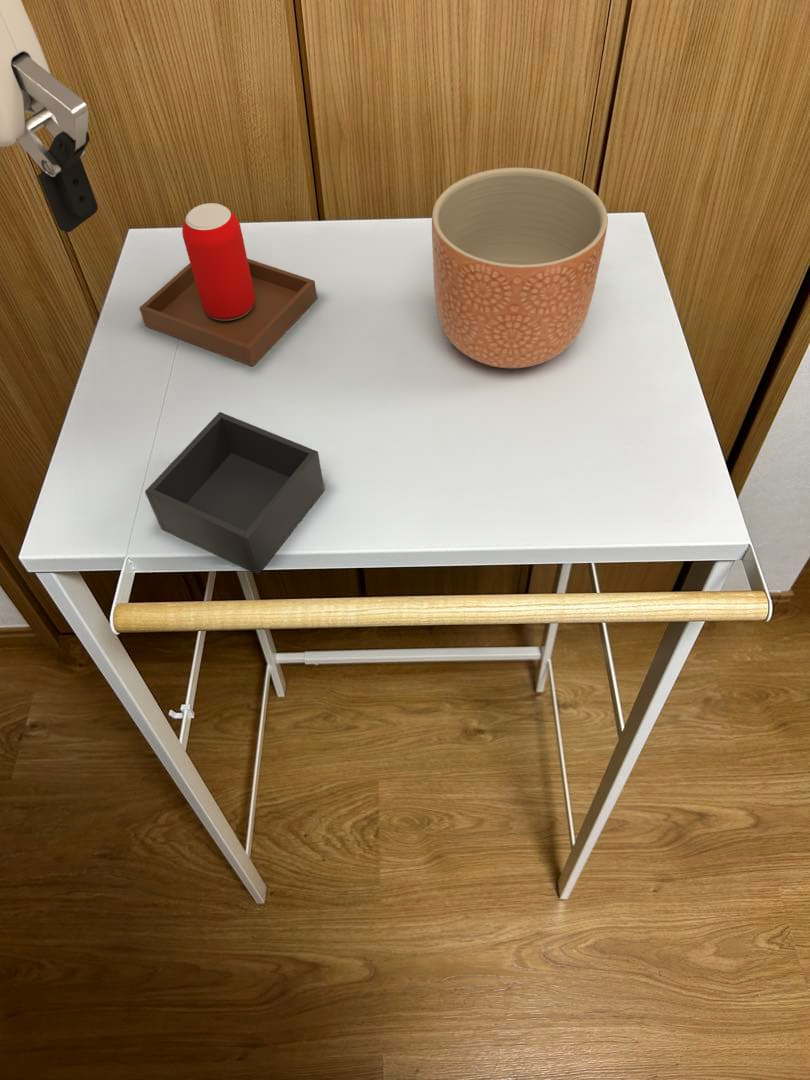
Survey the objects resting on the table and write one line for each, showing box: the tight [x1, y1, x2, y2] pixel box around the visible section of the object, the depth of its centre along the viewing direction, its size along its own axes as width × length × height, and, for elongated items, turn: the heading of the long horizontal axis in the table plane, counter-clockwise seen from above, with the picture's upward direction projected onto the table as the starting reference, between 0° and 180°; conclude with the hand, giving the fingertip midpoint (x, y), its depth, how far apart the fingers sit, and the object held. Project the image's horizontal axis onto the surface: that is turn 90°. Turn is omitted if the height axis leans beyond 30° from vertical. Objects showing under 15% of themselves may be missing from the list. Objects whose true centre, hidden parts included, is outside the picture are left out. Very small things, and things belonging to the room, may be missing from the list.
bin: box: [144, 411, 325, 576], centre depth 77 cm, size 11×11×6 cm
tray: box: [138, 257, 318, 367], centre depth 96 cm, size 15×13×3 cm
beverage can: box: [181, 202, 255, 321], centre depth 92 cm, size 6×6×12 cm
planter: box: [431, 167, 609, 369], centre depth 87 cm, size 17×17×15 cm
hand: (26, 202), depth 57 cm, fingers open, 9 cm apart
